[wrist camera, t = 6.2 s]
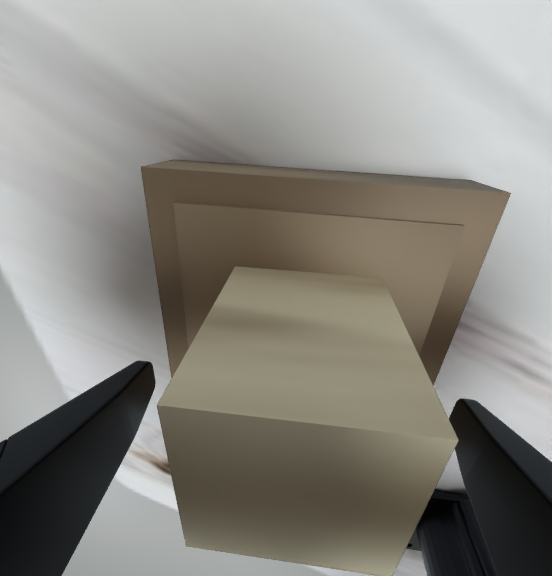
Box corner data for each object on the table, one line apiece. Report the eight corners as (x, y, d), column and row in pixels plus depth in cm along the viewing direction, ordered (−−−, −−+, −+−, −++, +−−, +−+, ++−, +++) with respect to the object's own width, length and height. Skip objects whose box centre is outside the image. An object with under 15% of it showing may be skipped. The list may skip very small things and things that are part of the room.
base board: (397, 398, 16) (411, 444, 14) (194, 374, 17) (175, 413, 14) (470, 180, 11) (514, 194, 9) (173, 159, 12) (138, 167, 9)
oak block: (357, 387, 12) (391, 577, 7) (238, 374, 13) (186, 546, 8) (382, 277, 10) (458, 440, 5) (235, 266, 11) (157, 405, 5)
